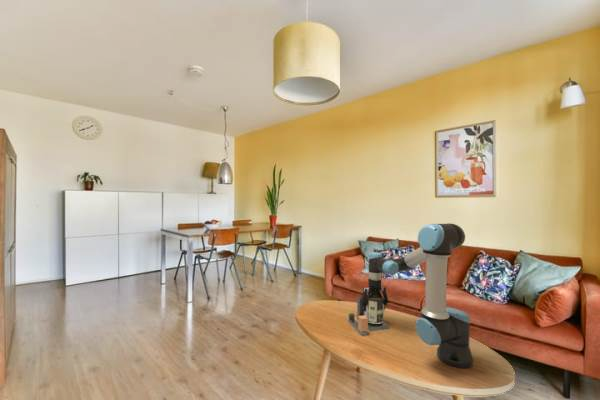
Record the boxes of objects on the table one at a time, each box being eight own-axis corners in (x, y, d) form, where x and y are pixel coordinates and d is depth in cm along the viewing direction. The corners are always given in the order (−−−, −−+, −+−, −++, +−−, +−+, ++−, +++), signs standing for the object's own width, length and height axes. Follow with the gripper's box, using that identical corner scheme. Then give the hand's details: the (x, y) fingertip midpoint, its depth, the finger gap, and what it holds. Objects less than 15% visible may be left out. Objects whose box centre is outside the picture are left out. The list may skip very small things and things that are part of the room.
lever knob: (367, 330, 154) (368, 318, 154) (361, 331, 153) (361, 319, 153) (364, 327, 158) (364, 315, 158) (357, 328, 157) (358, 316, 157)
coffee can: (380, 316, 171) (380, 294, 171) (385, 324, 161) (385, 300, 161) (363, 316, 172) (364, 293, 171) (367, 323, 161) (367, 299, 161)
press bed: (388, 328, 162) (388, 304, 162) (369, 331, 159) (370, 306, 159) (374, 317, 178) (374, 295, 177) (357, 319, 175) (357, 296, 174)
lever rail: (366, 335, 154) (367, 326, 154) (361, 335, 153) (362, 326, 153) (353, 321, 171) (353, 313, 171) (348, 321, 170) (348, 313, 170)
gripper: (388, 275, 173) (387, 311, 173) (354, 277, 167) (353, 314, 167) (395, 279, 165) (394, 316, 166) (360, 281, 160) (359, 320, 160)
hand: (374, 315), depth 166 cm, fingers open, 10 cm apart
